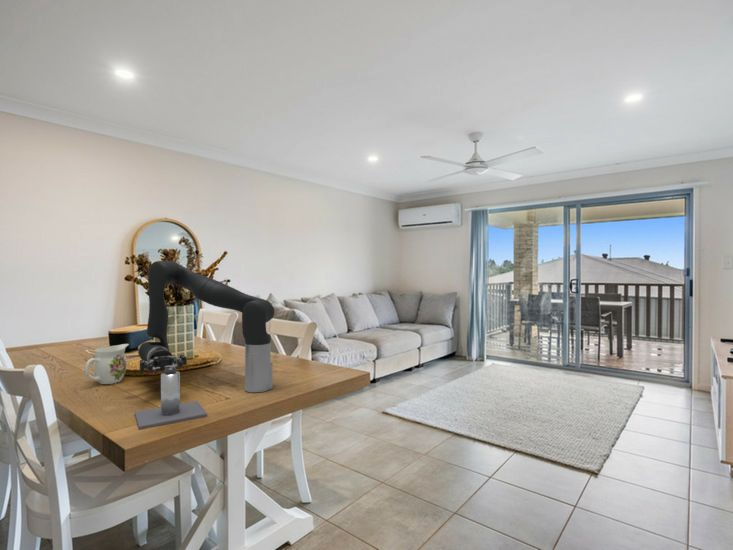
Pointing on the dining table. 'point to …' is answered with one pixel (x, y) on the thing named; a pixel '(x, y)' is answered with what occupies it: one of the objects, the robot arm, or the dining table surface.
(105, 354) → the pitcher
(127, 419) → the dining table surface
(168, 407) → the pepper mill
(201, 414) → the placemat
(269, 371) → the robot arm
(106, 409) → the dining table surface
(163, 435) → the dining table surface
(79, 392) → the dining table surface
